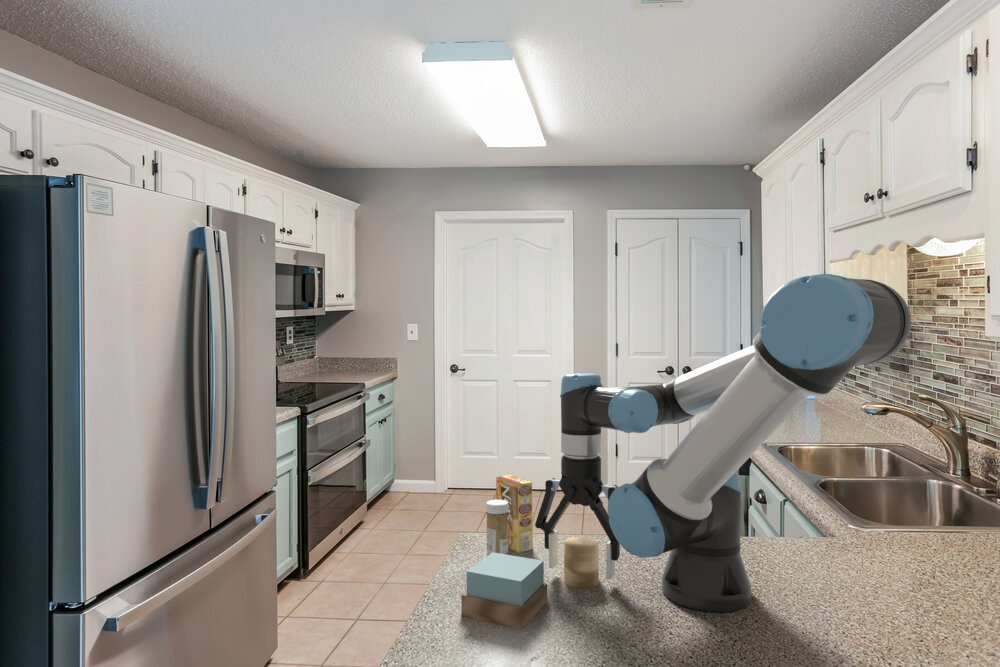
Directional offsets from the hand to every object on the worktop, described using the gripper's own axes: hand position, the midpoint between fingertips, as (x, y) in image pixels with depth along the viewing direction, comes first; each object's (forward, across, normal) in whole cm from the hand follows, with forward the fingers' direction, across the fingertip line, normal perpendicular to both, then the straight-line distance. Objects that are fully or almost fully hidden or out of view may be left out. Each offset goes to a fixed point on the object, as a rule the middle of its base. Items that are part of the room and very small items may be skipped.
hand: (581, 571), depth 117 cm
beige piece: (+3, 0, 0) cm, 3 cm away
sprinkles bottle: (+3, +18, 0) cm, 18 cm away
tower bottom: (+3, +8, +16) cm, 18 cm away
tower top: (-1, +8, +16) cm, 18 cm away
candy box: (+3, +20, -12) cm, 23 cm away
